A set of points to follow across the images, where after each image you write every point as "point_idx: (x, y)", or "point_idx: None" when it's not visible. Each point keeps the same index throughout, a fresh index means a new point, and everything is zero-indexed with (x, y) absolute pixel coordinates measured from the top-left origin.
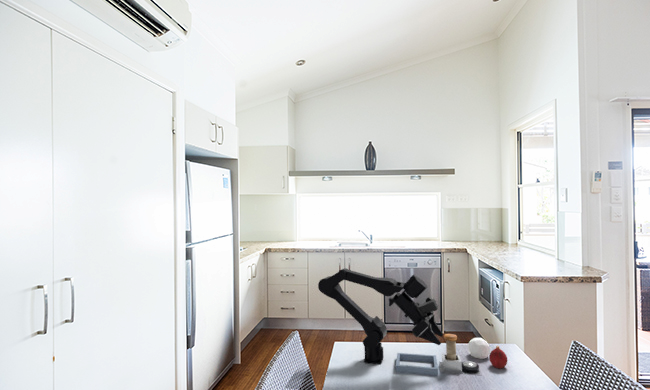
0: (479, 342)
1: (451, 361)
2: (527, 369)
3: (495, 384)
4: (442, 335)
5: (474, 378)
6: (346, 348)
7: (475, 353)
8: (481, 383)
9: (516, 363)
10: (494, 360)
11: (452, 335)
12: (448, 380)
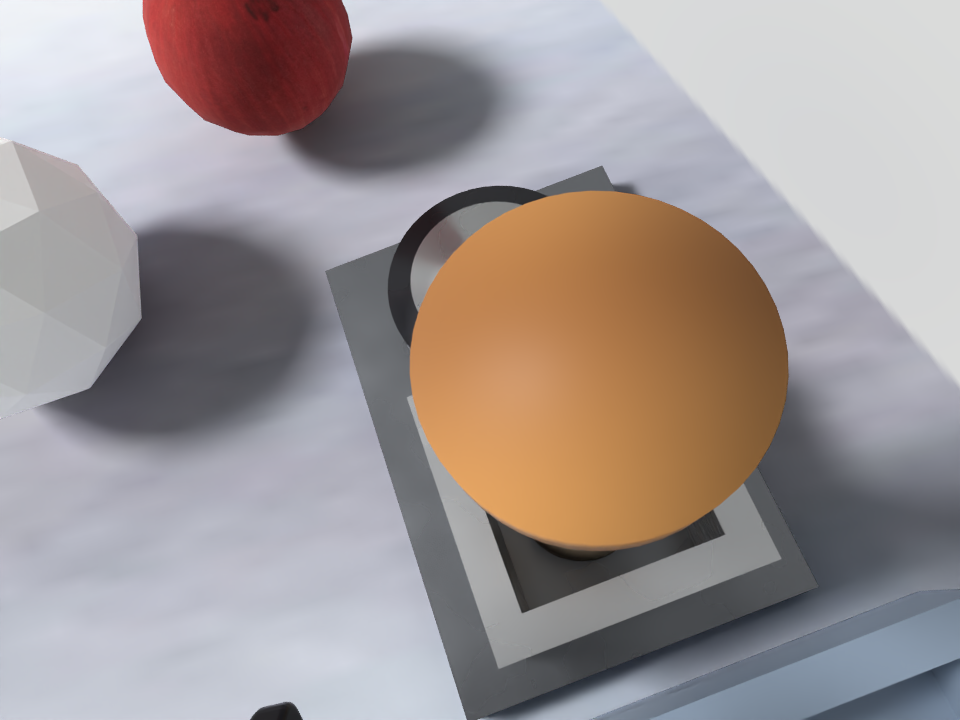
0: None
1: None
2: None
3: (658, 63)
4: (298, 716)
5: None
6: None
7: (125, 297)
8: (719, 159)
9: (86, 34)
10: (336, 41)
11: (534, 313)
12: (888, 458)
